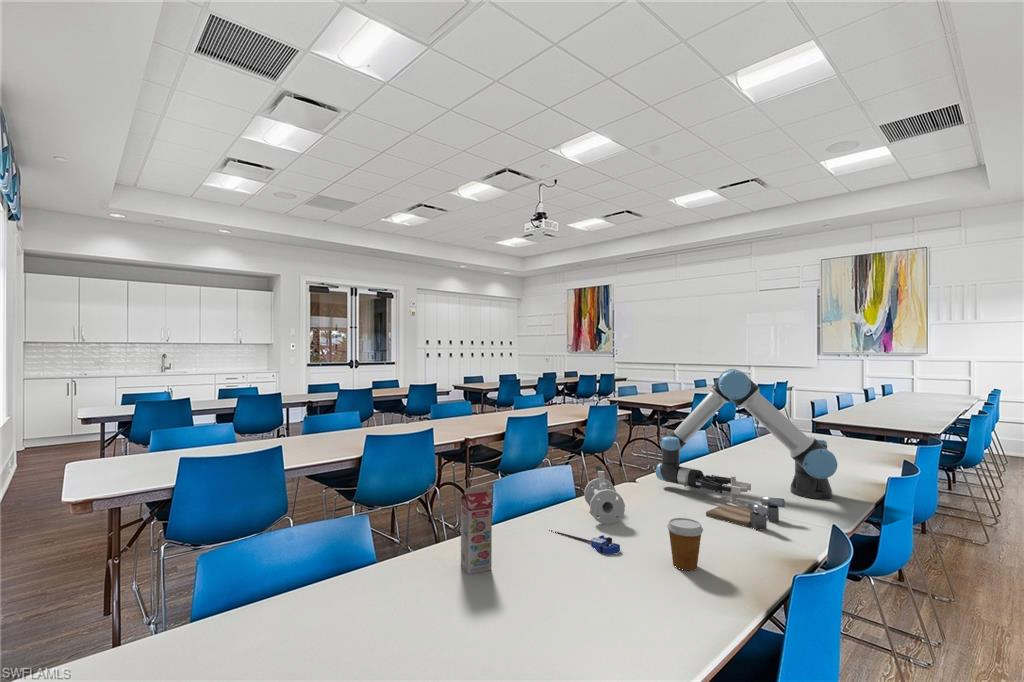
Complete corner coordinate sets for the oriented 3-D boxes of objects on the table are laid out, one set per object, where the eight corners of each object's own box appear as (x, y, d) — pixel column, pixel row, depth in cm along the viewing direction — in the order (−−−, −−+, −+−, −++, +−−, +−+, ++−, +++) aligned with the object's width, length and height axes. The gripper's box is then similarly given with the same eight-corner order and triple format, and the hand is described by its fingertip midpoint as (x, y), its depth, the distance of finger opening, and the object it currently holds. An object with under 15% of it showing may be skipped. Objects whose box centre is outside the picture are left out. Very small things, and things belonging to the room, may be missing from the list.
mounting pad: (725, 507, 190) (725, 503, 190) (766, 517, 179) (766, 513, 179) (706, 515, 180) (705, 511, 180) (747, 527, 169) (747, 522, 169)
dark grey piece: (746, 525, 171) (746, 501, 171) (756, 524, 172) (756, 501, 172) (760, 532, 164) (759, 508, 164) (770, 531, 165) (770, 507, 165)
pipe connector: (742, 498, 200) (741, 473, 200) (751, 506, 190) (751, 480, 190) (716, 497, 201) (716, 473, 201) (724, 505, 191) (724, 479, 191)
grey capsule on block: (762, 521, 175) (762, 498, 175) (761, 517, 179) (761, 495, 179) (785, 523, 173) (785, 500, 173) (783, 519, 176) (782, 497, 177)
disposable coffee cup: (685, 576, 132) (685, 531, 132) (659, 562, 140) (659, 520, 140) (710, 569, 136) (710, 525, 136) (684, 556, 145) (684, 515, 145)
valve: (625, 525, 171) (625, 481, 171) (590, 524, 171) (590, 481, 171) (612, 505, 193) (612, 466, 193) (582, 504, 193) (582, 466, 193)
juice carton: (460, 564, 139) (461, 485, 139) (483, 560, 141) (483, 483, 142) (468, 574, 133) (468, 491, 133) (491, 570, 135) (491, 489, 136)
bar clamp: (628, 539, 152) (611, 549, 145) (629, 547, 152) (612, 557, 144) (546, 519, 174) (527, 526, 166) (546, 526, 174) (527, 534, 166)
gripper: (704, 482, 216) (757, 493, 199) (677, 491, 202) (732, 504, 185) (703, 465, 216) (757, 474, 199) (677, 472, 202) (732, 484, 185)
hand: (745, 489), depth 192 cm, fingers closed on pipe connector, 8 cm apart
